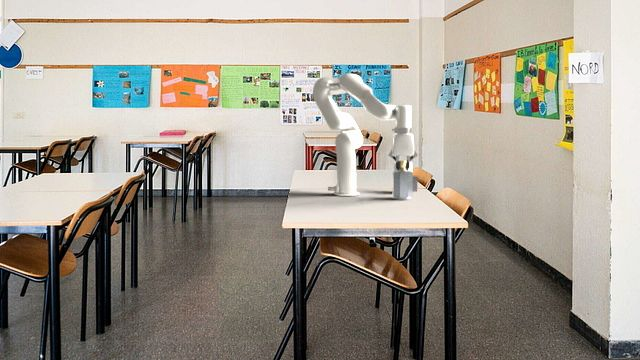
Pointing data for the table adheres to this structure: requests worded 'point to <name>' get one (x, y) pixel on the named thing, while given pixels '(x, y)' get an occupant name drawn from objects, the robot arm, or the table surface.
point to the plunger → (402, 165)
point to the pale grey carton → (404, 185)
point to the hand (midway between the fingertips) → (402, 169)
